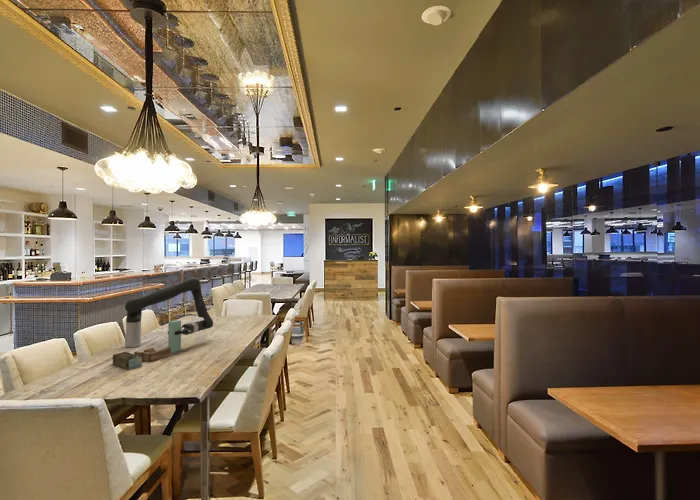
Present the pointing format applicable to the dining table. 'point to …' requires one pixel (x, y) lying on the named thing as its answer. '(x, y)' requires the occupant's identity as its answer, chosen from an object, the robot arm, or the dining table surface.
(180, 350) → the pad
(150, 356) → the frame
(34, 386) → the dining table surface
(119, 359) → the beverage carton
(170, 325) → the tall teal pillar
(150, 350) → the offcut top
